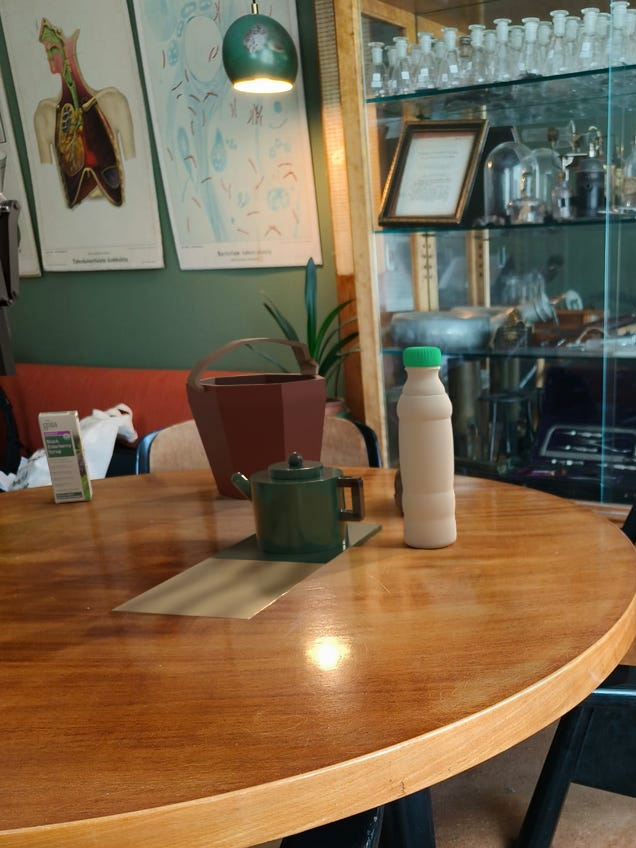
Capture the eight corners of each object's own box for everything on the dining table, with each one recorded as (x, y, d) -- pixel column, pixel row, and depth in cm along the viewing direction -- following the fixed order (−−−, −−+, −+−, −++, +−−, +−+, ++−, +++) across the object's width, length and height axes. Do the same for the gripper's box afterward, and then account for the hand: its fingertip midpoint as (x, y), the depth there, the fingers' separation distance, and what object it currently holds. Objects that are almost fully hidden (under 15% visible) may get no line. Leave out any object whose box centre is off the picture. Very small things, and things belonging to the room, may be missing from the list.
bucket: (315, 471, 169) (302, 333, 160) (362, 491, 151) (351, 337, 142) (185, 487, 157) (164, 340, 148) (220, 510, 140) (198, 344, 130)
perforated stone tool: (398, 497, 145) (396, 455, 143) (430, 496, 146) (428, 454, 143) (392, 519, 131) (389, 472, 129) (428, 518, 132) (425, 471, 129)
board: (111, 617, 94) (110, 610, 93) (279, 525, 130) (279, 520, 129) (249, 626, 90) (248, 619, 90) (382, 529, 126) (382, 524, 126)
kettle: (216, 550, 115) (204, 459, 110) (261, 527, 125) (251, 443, 121) (347, 557, 110) (340, 462, 106) (382, 533, 121) (376, 446, 116)
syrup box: (54, 504, 147) (36, 415, 142) (57, 497, 152) (40, 411, 147) (91, 500, 149) (75, 412, 144) (93, 494, 154) (77, 409, 149)
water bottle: (394, 547, 117) (382, 348, 108) (420, 534, 123) (411, 345, 114) (441, 552, 114) (433, 349, 105) (465, 538, 120) (459, 345, 111)
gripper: (-80, 95, 75) (-16, 381, 84) (27, 121, 87) (73, 369, 96) (-150, 101, 77) (-81, 381, 86) (-36, 126, 89) (15, 370, 98)
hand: (0, 375), depth 91 cm, fingers closed
